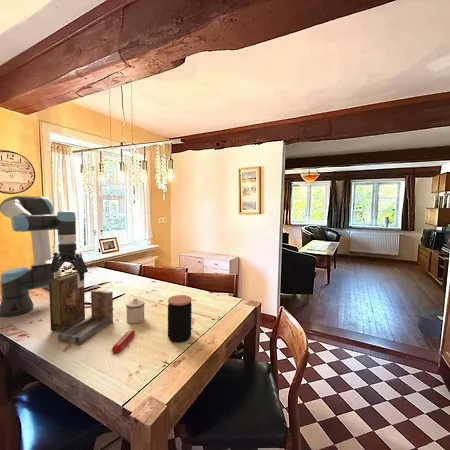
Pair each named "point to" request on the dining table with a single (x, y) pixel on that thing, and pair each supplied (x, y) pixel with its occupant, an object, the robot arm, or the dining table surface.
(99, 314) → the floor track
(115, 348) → the candy bar
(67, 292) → the book
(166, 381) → the dining table surface
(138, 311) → the teacup with lid
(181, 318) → the coffee jar
